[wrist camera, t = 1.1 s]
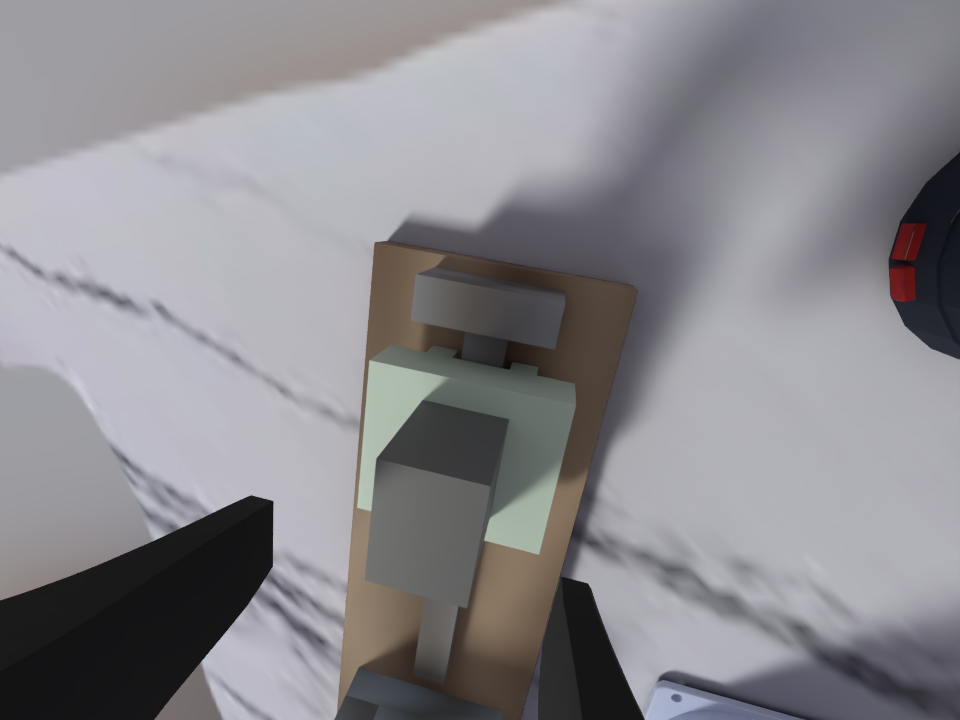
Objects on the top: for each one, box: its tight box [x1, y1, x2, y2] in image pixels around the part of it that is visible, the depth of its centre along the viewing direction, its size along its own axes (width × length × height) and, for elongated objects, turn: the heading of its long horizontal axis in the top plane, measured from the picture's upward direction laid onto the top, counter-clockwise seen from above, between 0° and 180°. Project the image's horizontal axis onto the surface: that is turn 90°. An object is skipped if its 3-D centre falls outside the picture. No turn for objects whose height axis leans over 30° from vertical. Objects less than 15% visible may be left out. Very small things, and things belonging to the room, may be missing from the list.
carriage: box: [357, 345, 576, 609], centre depth 15 cm, size 7×6×7 cm
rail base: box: [335, 241, 638, 720], centre depth 19 cm, size 10×29×6 cm, turn 171°
